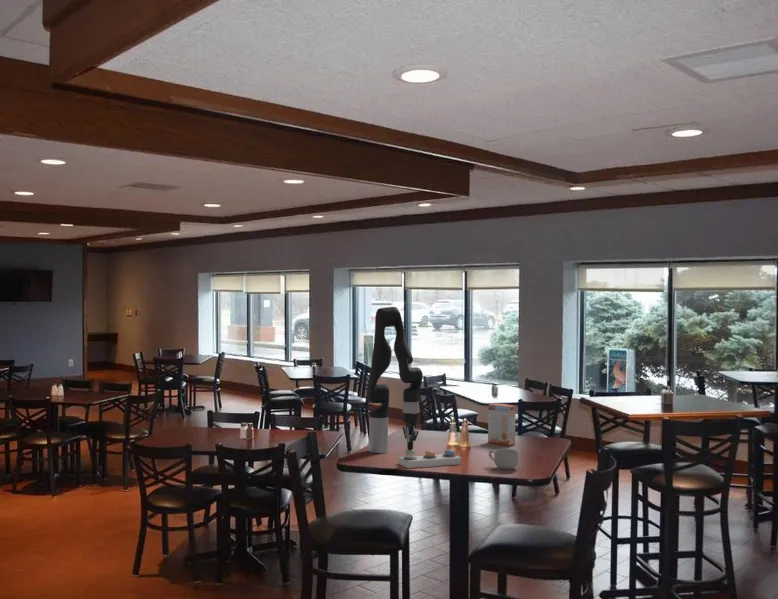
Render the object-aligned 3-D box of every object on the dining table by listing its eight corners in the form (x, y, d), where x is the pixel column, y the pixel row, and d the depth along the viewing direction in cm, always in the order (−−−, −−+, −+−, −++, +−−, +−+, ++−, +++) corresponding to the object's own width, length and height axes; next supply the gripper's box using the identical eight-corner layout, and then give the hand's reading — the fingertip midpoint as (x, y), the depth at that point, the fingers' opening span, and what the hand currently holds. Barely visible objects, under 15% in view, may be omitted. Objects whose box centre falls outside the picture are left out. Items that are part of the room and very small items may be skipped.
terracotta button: (423, 455, 345) (423, 451, 345) (432, 454, 347) (432, 450, 347) (427, 457, 341) (427, 452, 341) (436, 456, 343) (436, 452, 343)
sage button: (403, 453, 342) (403, 449, 342) (412, 453, 343) (412, 448, 343) (407, 455, 338) (407, 451, 338) (416, 455, 339) (416, 450, 339)
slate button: (443, 454, 349) (443, 449, 349) (451, 453, 351) (451, 449, 351) (447, 455, 345) (447, 451, 345) (455, 455, 347) (456, 451, 347)
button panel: (398, 463, 344) (398, 456, 344) (451, 460, 354) (451, 452, 354) (407, 468, 334) (407, 460, 334) (461, 464, 345) (461, 456, 345)
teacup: (523, 469, 337) (523, 451, 337) (508, 472, 330) (508, 454, 330) (498, 464, 347) (498, 446, 347) (483, 467, 339) (483, 449, 340)
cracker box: (515, 444, 396) (516, 405, 396) (508, 446, 392) (509, 406, 392) (494, 441, 406) (495, 402, 406) (487, 442, 402) (488, 403, 402)
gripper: (397, 409, 345) (396, 447, 345) (409, 413, 333) (408, 452, 333) (412, 409, 348) (411, 446, 348) (424, 413, 336) (423, 451, 336)
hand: (410, 449), depth 340 cm, fingers closed
